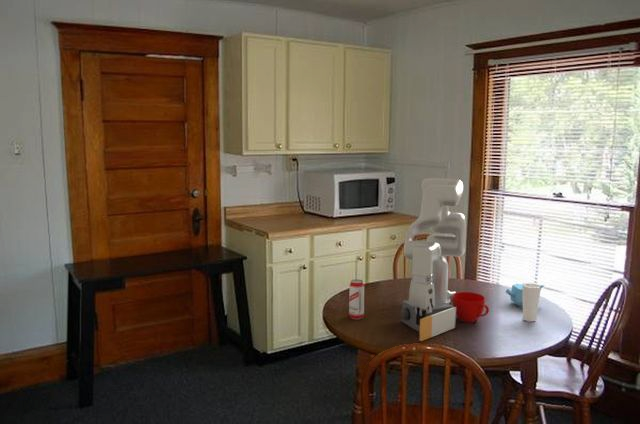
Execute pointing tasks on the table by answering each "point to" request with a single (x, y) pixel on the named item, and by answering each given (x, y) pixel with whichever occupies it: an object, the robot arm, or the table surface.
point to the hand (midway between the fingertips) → (420, 324)
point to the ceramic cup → (469, 306)
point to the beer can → (356, 299)
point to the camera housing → (410, 316)
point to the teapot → (517, 294)
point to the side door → (437, 323)
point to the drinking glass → (530, 301)
